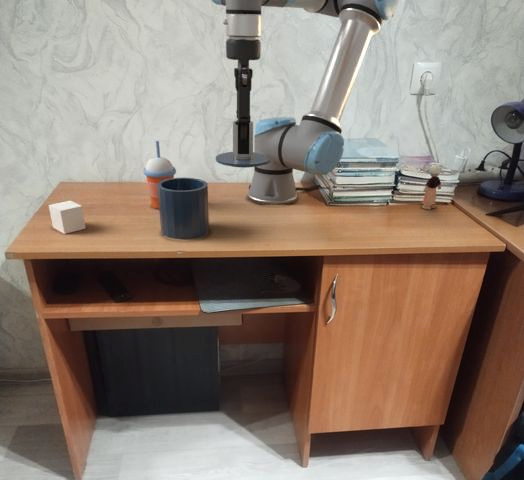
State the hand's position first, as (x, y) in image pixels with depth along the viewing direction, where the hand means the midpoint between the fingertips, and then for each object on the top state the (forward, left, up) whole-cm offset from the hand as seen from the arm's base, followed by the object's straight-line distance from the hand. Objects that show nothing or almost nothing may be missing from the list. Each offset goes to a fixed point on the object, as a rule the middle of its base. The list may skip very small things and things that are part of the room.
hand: (242, 151), depth 125 cm
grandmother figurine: (-58, +18, -21) cm, 64 cm away
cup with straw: (+5, -31, -21) cm, 38 cm away
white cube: (+34, -30, -21) cm, 50 cm away
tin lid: (0, 0, -2) cm, 2 cm away
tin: (+12, -9, -20) cm, 25 cm away
